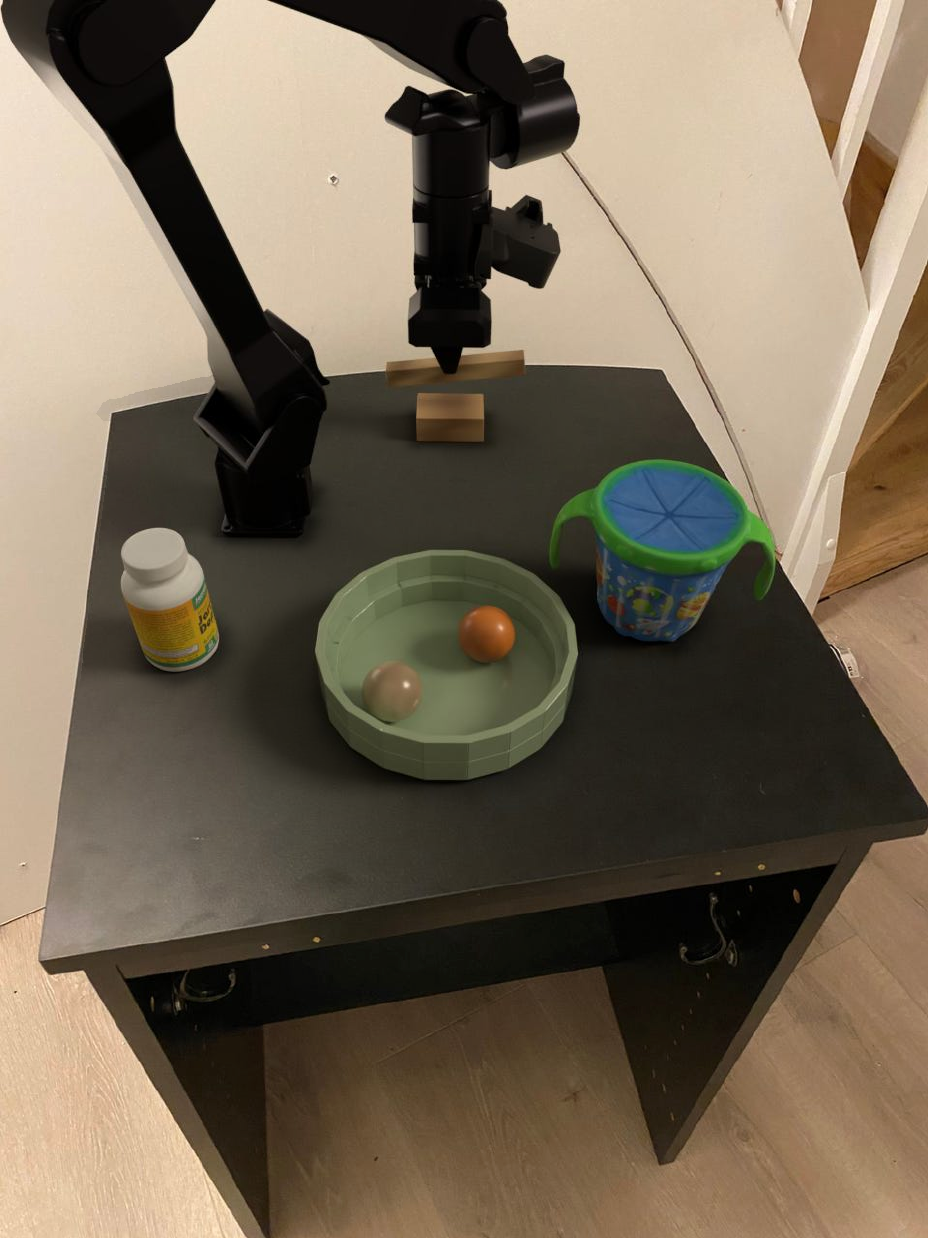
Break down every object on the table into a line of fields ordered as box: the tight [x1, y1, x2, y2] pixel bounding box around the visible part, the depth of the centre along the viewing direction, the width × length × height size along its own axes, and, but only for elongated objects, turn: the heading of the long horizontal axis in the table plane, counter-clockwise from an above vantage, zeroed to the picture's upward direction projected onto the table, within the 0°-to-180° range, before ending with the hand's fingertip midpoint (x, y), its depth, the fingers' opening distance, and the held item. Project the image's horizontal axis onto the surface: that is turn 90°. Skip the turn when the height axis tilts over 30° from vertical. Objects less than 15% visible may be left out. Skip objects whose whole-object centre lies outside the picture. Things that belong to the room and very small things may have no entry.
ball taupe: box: [362, 661, 423, 722], centre depth 62 cm, size 4×4×4 cm
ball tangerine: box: [458, 605, 515, 663], centre depth 65 cm, size 4×4×4 cm
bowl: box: [314, 549, 579, 781], centre depth 64 cm, size 17×17×4 cm
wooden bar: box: [385, 349, 526, 388], centre depth 82 cm, size 12×2×2 cm, turn 90°
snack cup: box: [548, 459, 776, 643], centre depth 67 cm, size 16×10×10 cm
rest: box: [415, 392, 485, 443], centre depth 85 cm, size 6×4×2 cm, turn 90°
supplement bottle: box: [120, 527, 220, 673], centre depth 64 cm, size 5×5×10 cm
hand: (450, 367), depth 81 cm, fingers closed on wooden bar, 2 cm apart
